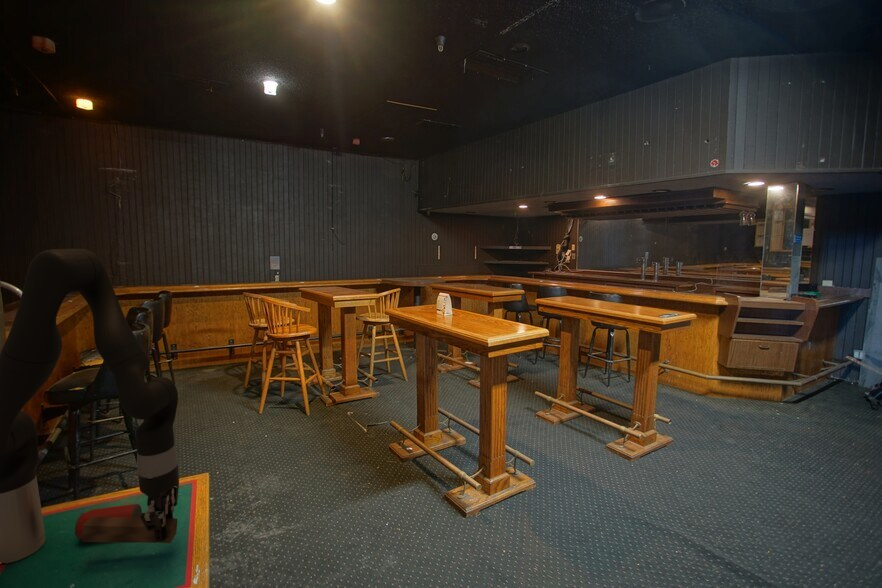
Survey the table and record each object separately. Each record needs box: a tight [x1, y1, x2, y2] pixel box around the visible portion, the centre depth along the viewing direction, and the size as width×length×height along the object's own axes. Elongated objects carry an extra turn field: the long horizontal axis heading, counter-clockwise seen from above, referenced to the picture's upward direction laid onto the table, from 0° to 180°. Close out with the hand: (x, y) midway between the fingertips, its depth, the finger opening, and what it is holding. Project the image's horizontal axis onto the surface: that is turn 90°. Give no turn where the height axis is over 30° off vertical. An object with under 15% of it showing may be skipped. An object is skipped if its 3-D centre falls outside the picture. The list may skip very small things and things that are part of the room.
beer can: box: [74, 503, 143, 539], centre depth 106 cm, size 7×7×12 cm
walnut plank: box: [81, 517, 178, 544], centre depth 98 cm, size 18×3×4 cm, turn 100°
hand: (164, 534), depth 100 cm, fingers closed on walnut plank, 3 cm apart
